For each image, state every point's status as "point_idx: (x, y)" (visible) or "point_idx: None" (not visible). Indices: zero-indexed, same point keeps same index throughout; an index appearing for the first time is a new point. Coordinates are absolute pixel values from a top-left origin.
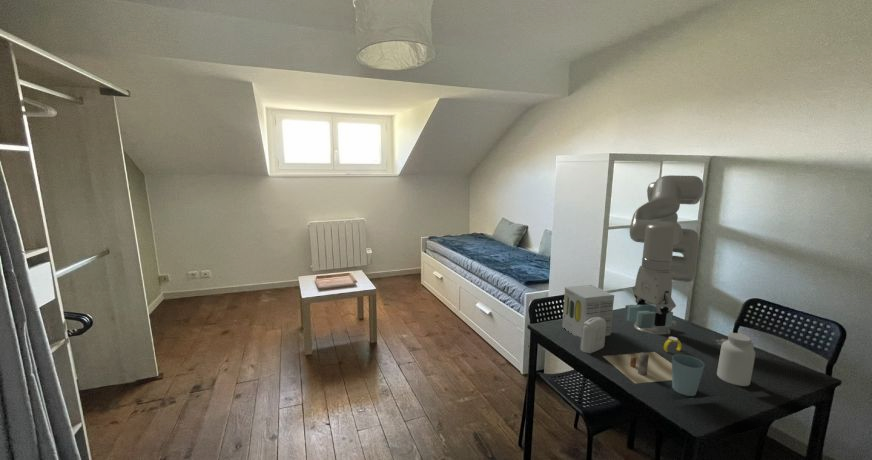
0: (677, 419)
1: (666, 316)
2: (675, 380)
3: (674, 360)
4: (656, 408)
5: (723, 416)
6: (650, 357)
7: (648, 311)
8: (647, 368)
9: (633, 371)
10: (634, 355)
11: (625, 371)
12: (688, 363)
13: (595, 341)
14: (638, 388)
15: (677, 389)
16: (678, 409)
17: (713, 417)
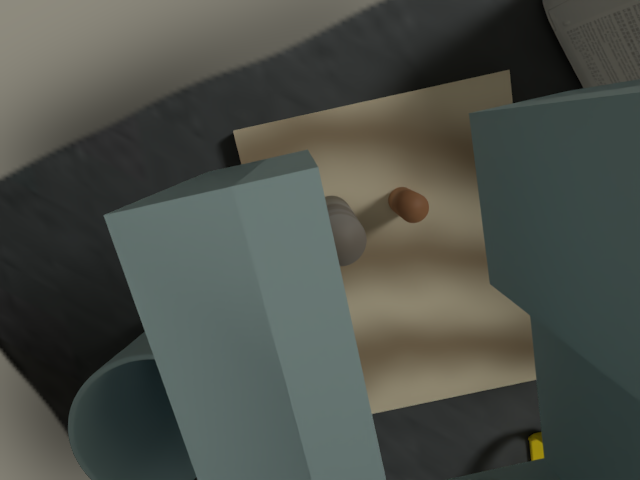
0: (15, 203)
1: None
2: None
3: (147, 355)
4: (77, 152)
5: (76, 391)
6: (485, 332)
7: (343, 477)
8: (380, 265)
9: (348, 178)
10: None
11: (346, 133)
12: None
13: (615, 24)
14: (228, 146)
15: None
16: (88, 246)
17: (61, 352)
